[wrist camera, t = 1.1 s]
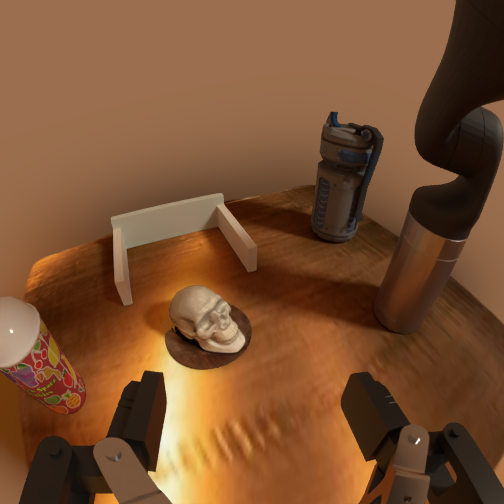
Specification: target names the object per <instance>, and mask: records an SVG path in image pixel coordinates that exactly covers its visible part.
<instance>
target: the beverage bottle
mask: <svg viewBox="0 0 504 504" xmlns="http://www.w3.org/2000/svg"><path fill="white" fill-rule="evenodd" d="M337 114H338V112H330V115H329V117H328V119H327V121H326V124H324V126H323V130H322V136H321V146H320V154H321V156H322V158H323V160H322V161H321V162H319V164H318V171H317V180H316V187H315V194H314V202H313V209H312V216H311V227H312V229H313V231H314V233H315V234H316V235H318V236H319V237H321V238H323V239H325V240H328V241H333V242H345V241H347V240H350V239H351V238H352V237H353V236H354V235H355V234H356V231H357V227H358V223H359V222H360V221H363V217H362V209H363V205H364V201H365V197H366V192H367V188H368V185H369V183H370V180H371V178H372V175H373V172H374V170H375V166H376V164H377V162H378V159H379V156H380V153H381V150H382V146H383V140H384V138H383V136H382V135H381V133H380V132H379V131H378V129H377V128H374V127H372V126H369V125H363V126H360V125H357V124H354V123H348V125H346V124H339V123H338V121H337Z"/></svg>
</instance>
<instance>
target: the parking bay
mask: <svg viewBox="0 0 504 504" xmlns="http://www.w3.org/2000/svg"><path fill="white" fill-rule="evenodd" d="M111 223H112V227H113V251H114V278H115V285H116V287H117V290H118V292H119V295H120V297H121V300H122V302H123V304H124V306H127V305H131V304H133V301H132V294H131V287H130V279H129V271H128V262H127V251H126V249H127V248H131V247H135V246H139V245H143V244H147V243H151V242H155V241H159V240H163V239H167V238H171V237H176V236H180V235H184V234H188V233H192V232H197V231H201V230H205V229H210V228H214V227H219V229H220V230H221V232H222V233H223V235H224V236H225V238H226V239H227V241H228V242H229V244H230V245H231V247H232V248H233V250H234V251H235V253H236V254H237V256H238V257H239V259H240V261H241V262H242V264H243V265H244V267H245V268H246V270H247V271H248V273H249V272H252V271H256V270H257V245H256V244H255V243H254V242H253V240H252V239H251V238H250V237H249V235H248V234H247V233H246V232H245V230H244V229H243V228H242V227H241V225H240V224H239V223H238V221H237V220H236V219H235V218H234V216H233V215H232V214H231V213H230V211H229V210H228V209H227V208H226V206H225V205H224V196H223V194H222V193H218V194H212V195H207V196H202V197H198V198H192V199H187V200H183V201H178V202H173V203H169V204H164V205H159V206H155V207H151V208H147V209H142V210H138V211H134V212H130V213H126V214H122V215H118V216H114V217H111Z"/></svg>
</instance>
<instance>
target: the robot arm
mask: <svg viewBox="0 0 504 504" xmlns="http://www.w3.org/2000/svg"><path fill="white" fill-rule="evenodd" d="M500 100H504V0H456V5H455V11H454V17H453V22H452V27H451V31H450V35H449V39H448V43H447V46H446V50H445V52H444V55H443V58H442V60H441V63H440V65H439V67H438V69H437V71H436V74H435V76H434V78H433V80H432V82H431V84H430V86H429V88H428V90H427V93H426V95H425V97H424V99H423V102H422V104H421V106H420V109H419V112H418V115H417V120H416V125H415V145H416V148H417V151H418V152H419V154H420V156H422V158H423V159H424V160H426V161H427V162H429V163H431V164H433V165H435V166H438V167H440V168H443V169H445V170H448V171H451V172H453V173H456V174H458V175H459V176H458V177H457V178H456V179H455V180H454V181H452V182H449V183H446V184H442V185H430V186H422V187H419V188H417V189H416V190H415V192H414V193H413V195H412V199H411V202H410V205H409V209H408V212H407V216H406V219H405V222H404V225H403V228H402V231H401V234H400V237H399V240H398V243H397V246H396V248H395V251H394V254H393V257H392V259H391V262H390V264H389V267H388V269H387V272H386V274H385V277H384V279H383V282H382V284H381V286H380V289H379V291H378V293H377V296H376V298H375V300H374V304H373V309H374V313H375V315H376V317H377V319H378V320H379V321H380V323H381V324H383V325H384V326H385V327H386V328H388V329H389V330H391V331H394V332H397V333H403V334H407V333H412V332H414V331H416V330H417V329H418V328H419V327H420V325H421V324H422V322H423V321H424V319H425V318H426V316H427V314H428V313H429V311H430V310H431V308H432V306H433V305H434V303H435V301H436V300H437V298H438V296H439V294H440V293H441V291H442V289H443V287H444V285H445V284H446V282H447V280H448V278H449V276H450V274H451V272H452V270H453V268H454V266H455V264H456V262H457V260H458V258H459V256H460V254H461V252H462V249H463V247H464V245H465V243H466V240H467V238H468V236H469V234H470V231H471V229H472V227H473V226H474V224H475V223H476V222H477V220H478V219H479V217H480V214H481V212H482V210H483V207H484V204H485V202H486V199H487V197H488V194H489V192H490V189H491V187H492V184H493V181H494V178H495V176H496V173H497V170H498V166H499V163H500V160H501V155H502V150H503V139H504V138H503V128H502V125H501V122H500V120H499V118H498V117H497V116H496V115H495V114H494V113H493V112H491V111H489V110H487V109H485V108H483V107H481V106H482V105H485V104H489V103H492V102H496V101H500ZM166 405H167V399H166V391H165V383H164V376H163V373H162V372H154V371H146V370H145V371H144V373H143V376H142V379H141V382H138V381H131V382H130V383H129V384H128V385H127V386H126V387H125V388H124V390H123V392H122V395H121V399H120V400H119V403H118V407H117V409H116V411H115V414H114V417H113V420H112V423H111V425H110V428H109V431H108V434H107V436H106V438H104V439H102V440H100V441H99V442H97V444H96V445H92V446H70V444H69V443H68V442H67V441H66V440H65V439H63V438H61V437H58V436H50V437H46V438H45V439H43V440H42V441H41V442H40V444H39V446H38V448H37V451H36V454H35V456H34V459H33V462H32V464H31V467H30V470H29V473H28V476H27V479H26V482H25V485H24V488H23V491H22V495H21V498H20V502H19V504H94V500H95V494H96V493H113V494H114V495H115V497H116V499H117V500H118V502H119V504H172V503H171V502H170V500H169V499H168V498H167V497H166V495H165V494H164V493H163V492H162V491H161V490H159V489H158V487H157V486H156V485H155V483H154V482H153V481H152V479H151V478H150V476H149V475H148V471H153V472H156V466H157V460H158V453H159V447H160V441H161V435H162V430H163V424H164V419H165V413H166ZM341 408H342V410H343V413H344V415H345V417H346V419H347V421H348V423H349V426H350V428H351V430H352V432H353V434H354V436H355V439H356V441H357V443H358V445H359V447H360V449H361V452H362V454H363V456H364V458H365V460H366V462H367V461H370V460H374V459H376V461H377V463H376V465H375V466H374V469H373V472H372V475H371V477H370V480H369V483H368V485H367V488H366V490H365V493H364V495H363V497H362V499H361V501H360V502H359V503H358V504H425V502H426V498H428V501H429V503H430V504H504V488H503V486H502V484H501V483H500V481H499V479H498V478H497V476H496V474H495V473H494V471H493V469H492V468H491V466H490V465H489V463H488V462H487V460H486V458H485V457H484V455H483V454H482V452H481V451H480V449H479V448H478V446H477V445H476V443H475V442H474V440H473V439H472V437H471V436H470V434H469V433H468V431H467V430H466V429H465V427H464V426H462V425H461V424H459V423H449V424H447V425H446V426H445V427H444V429H443V430H442V431H438V432H427V431H426V430H425V429H424V428H423V427H421V426H419V425H414V424H412V425H411V424H410V422H409V421H408V419H407V418H406V416H405V415H404V413H403V412H402V410H401V409H400V407H399V406H398V404H397V403H395V400H394V398H393V397H391V394H390V392H389V391H388V390H387V388H386V387H385V386H384V385H382V384H381V383H380V382H378V381H374V379H373V378H372V376H371V375H370V373H369V372H361V373H353V374H351V375H350V377H349V380H348V382H347V385H346V387H345V390H344V392H343V395H342V397H341ZM448 461H449V462H450V464H451V466H452V468H453V469H454V471H455V473H456V475H457V480H456V483H455V482H454V480H453V479H452V477H451V475H450V473H449V471H448V469H447V468H446V466H445V464H446V463H447V462H448Z"/></svg>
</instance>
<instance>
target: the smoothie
mask: <svg viewBox="0 0 504 504" xmlns="http://www.w3.org/2000/svg"><path fill="white" fill-rule="evenodd" d="M0 371H1V372H2V373H3V374H5V375H6V376H7V377H9V379H11V380H12V381H13V382H14V383H16V384H17V385H18V386H19V387H21V388H22V389H23V390H25V391H26V392H27V393H28V394H30V395H31V396H33V397H34V398H35V399H37V400H38V401H40V402H41V403H42V404H44V405H45V406H47V407H48V408H50V409H51V410H53V411H54V412H56V413H60V414H71V413H74V412H76V411H78V410H79V409H80V408H81V407H82V405H83V403H84V402H85V397H86V393H85V384H84V382H83V379H82V378H81V376H80V375H79V374H78V372H77V371H76V370H75V368H74V367H73V366H72V364H71V363H70V362H69V360H68V359H67V357H66V356H65V355H64V353H63V352H62V350H61V349H60V347H59V346H58V344H57V343H56V341H55V340H54V338H53V337H52V335H51V333H50V332H49V330H48V329H47V327H46V325H45V324H44V322H43V320H42V319H41V317H40V314H39V312H38V311H37V309H36V307H34V306H33V305H31V304H29V303H25V302H23V301H22V300H20V299H18V298H16V297H9V296H4V297H0Z"/></svg>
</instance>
